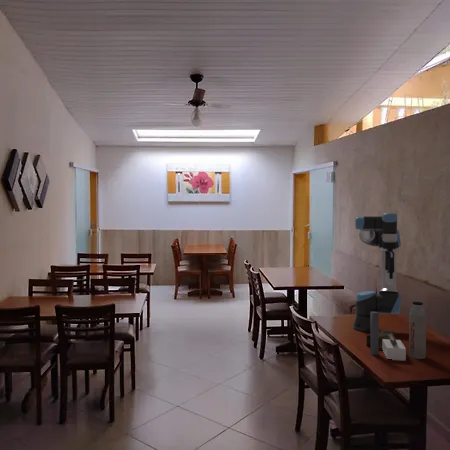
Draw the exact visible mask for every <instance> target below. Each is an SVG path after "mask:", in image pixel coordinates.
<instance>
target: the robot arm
mask: <svg viewBox="0 0 450 450" xmlns="http://www.w3.org/2000/svg"><path fill="white" fill-rule="evenodd" d="M354 222H355V229H356V230H359V235H358V236H359V240H360V241H361V242H363V243H364V244H366V245H367V246H370V247H378V250H379V251H380V252H381V289H379V290H378V293H376V291H374V290H373V291H372V290H367V291H365V290H364V291H359V292H358V293H357V294H356V295H355V318H354V321H353V323H352V329H354V330H356V331H359V332H367V333H368V332H370V333H371V312H378V313H379V314H386V315H387V314H388V315H389V314H390V315H398V314H400V310H401V305H402V304H401V302H402V295H401V294H400V292H399V291H398V290H397V251H399V248H400V247H401V246H402V243H401V235H400V234H401V233H400V230H399V229H398V214H397V213H395V212H394V213H393V212H389V213H388V212H386V213H383V214H382V215H381V216H374V215H373V216H370V215H369V216H368V215H367V216H363V215H361V216H356V217H355V220H354Z"/></svg>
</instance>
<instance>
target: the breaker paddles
mask: <svg viewBox="0 0 450 450" xmlns="http://www.w3.org/2000/svg"><path fill="white" fill-rule="evenodd" d="M388 338H389V340H390V342H391V344H392V345H397V342H396V340H397V339H396V338H394V336H393V334H389V335H388Z"/></svg>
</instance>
